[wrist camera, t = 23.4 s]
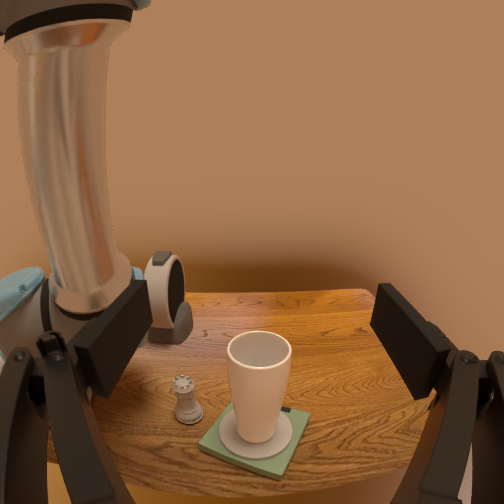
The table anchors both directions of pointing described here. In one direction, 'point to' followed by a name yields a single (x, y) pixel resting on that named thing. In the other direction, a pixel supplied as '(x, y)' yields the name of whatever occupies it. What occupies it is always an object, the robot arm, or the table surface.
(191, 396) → the rook chess piece
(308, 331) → the table surface
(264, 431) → the drinking glass
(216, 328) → the table surface
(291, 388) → the table surface
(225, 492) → the table surface
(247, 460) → the scale
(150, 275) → the alarm clock
